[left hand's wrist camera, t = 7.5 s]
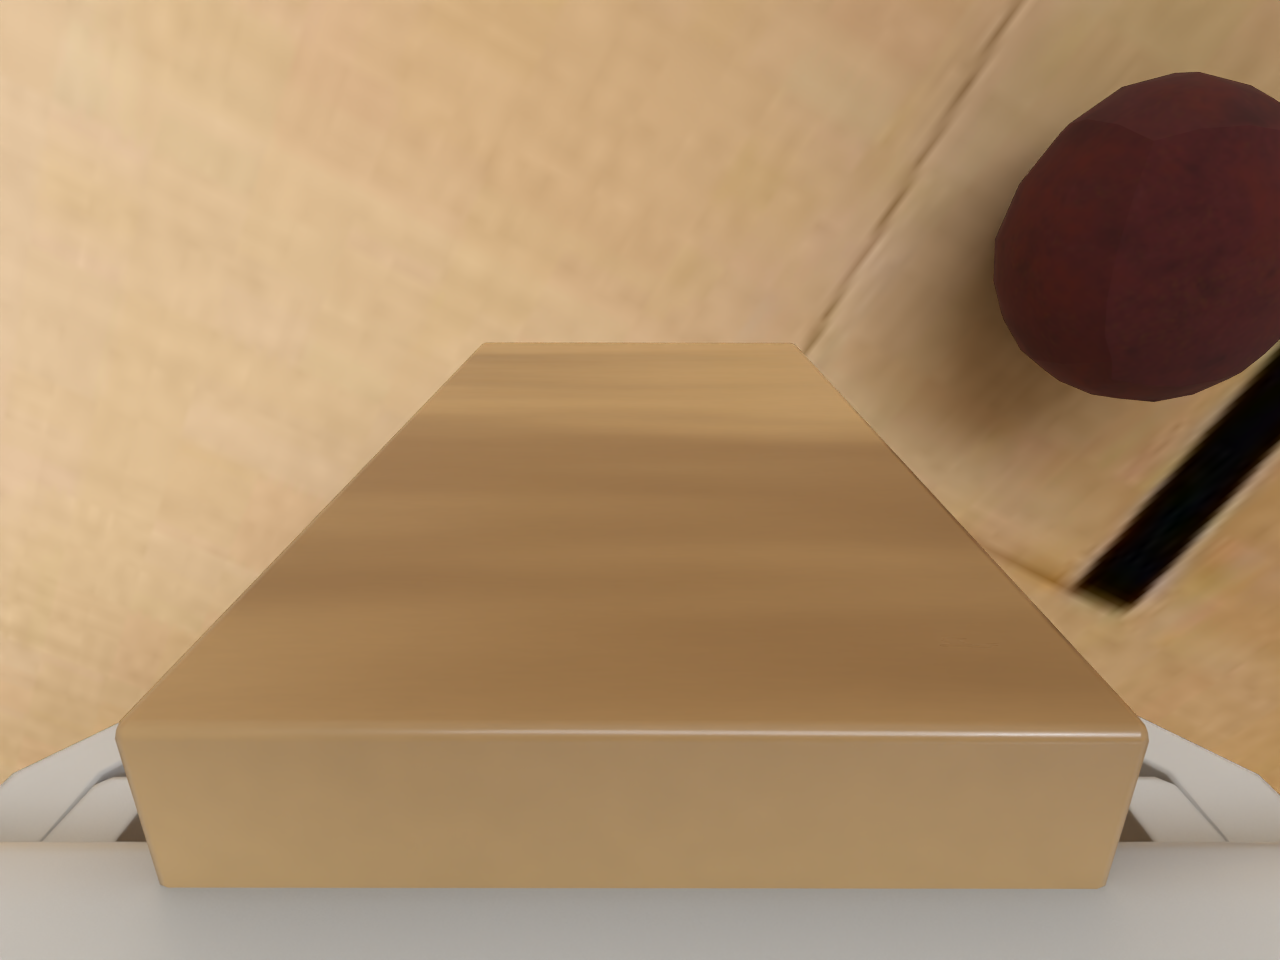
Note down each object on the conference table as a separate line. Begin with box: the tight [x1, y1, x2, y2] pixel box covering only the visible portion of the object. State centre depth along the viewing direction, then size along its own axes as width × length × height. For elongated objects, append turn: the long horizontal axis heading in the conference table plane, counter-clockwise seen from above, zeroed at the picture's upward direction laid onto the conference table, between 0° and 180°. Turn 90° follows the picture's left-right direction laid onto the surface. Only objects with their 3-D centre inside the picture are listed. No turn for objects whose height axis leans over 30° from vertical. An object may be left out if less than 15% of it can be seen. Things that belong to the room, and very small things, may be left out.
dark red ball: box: [994, 72, 1280, 402], centre depth 19 cm, size 7×8×7 cm
